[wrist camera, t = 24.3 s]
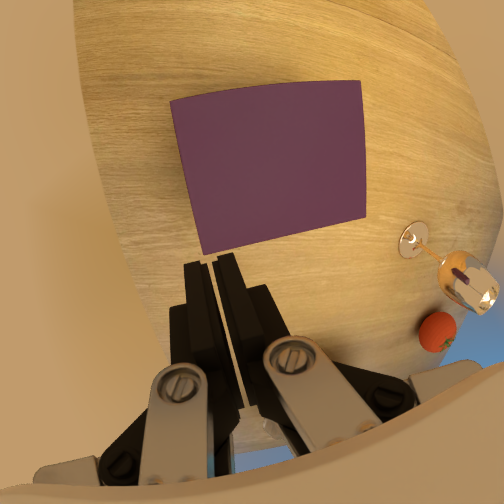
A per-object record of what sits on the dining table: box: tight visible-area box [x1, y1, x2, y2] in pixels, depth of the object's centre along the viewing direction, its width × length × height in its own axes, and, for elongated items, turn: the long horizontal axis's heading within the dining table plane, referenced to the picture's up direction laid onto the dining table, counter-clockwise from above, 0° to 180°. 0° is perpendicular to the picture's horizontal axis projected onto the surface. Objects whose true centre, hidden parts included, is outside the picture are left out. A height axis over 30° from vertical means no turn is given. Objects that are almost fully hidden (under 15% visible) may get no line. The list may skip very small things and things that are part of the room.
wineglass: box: [399, 222, 499, 315], centre depth 42 cm, size 8×8×20 cm
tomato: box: [419, 312, 456, 353], centre depth 60 cm, size 10×10×10 cm
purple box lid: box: [170, 80, 366, 255], centre depth 25 cm, size 16×14×1 cm
